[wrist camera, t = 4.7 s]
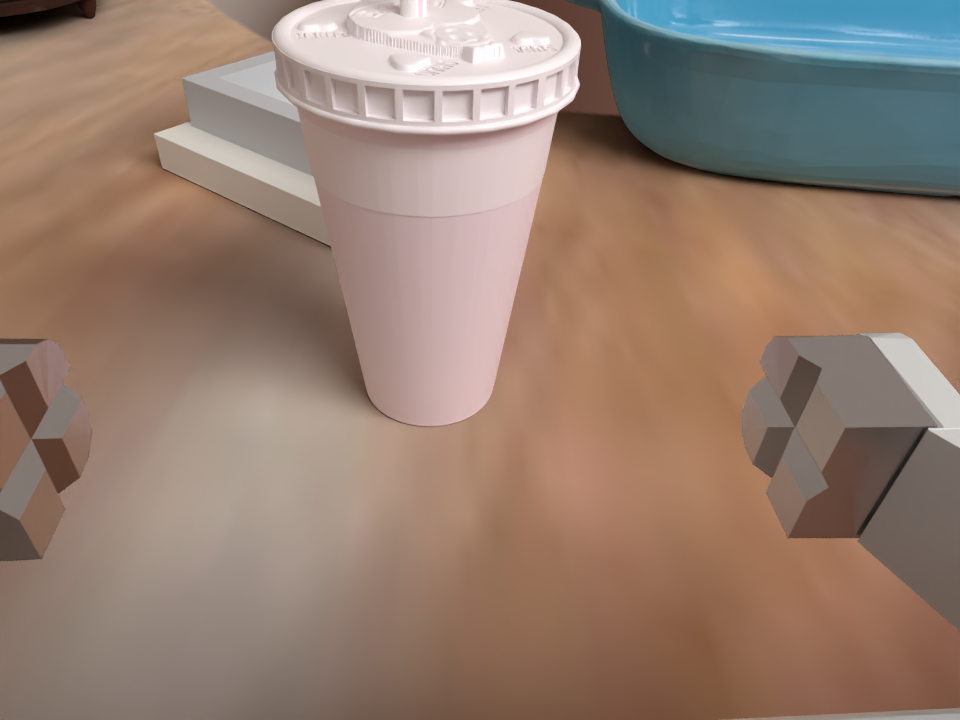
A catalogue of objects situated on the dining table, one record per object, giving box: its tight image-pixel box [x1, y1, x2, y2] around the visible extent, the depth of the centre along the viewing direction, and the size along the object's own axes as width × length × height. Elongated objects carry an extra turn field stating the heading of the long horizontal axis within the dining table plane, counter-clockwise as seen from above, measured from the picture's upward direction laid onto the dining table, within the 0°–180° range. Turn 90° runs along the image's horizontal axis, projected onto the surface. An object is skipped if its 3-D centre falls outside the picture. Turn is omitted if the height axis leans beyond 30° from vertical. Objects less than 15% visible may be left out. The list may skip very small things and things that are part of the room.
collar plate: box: [154, 51, 331, 246], centre depth 31 cm, size 11×13×4 cm
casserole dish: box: [566, 0, 960, 196], centre depth 36 cm, size 37×22×7 cm, turn 84°
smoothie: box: [272, 0, 581, 426], centre depth 17 cm, size 6×6×14 cm
